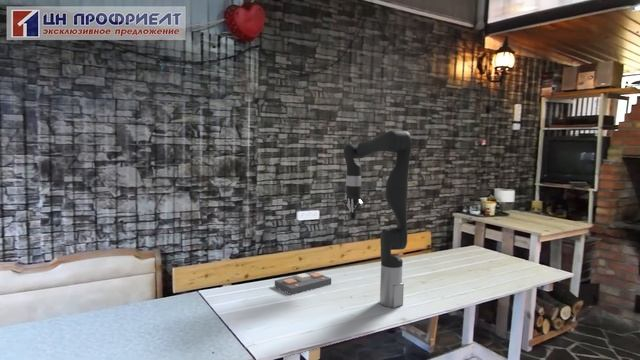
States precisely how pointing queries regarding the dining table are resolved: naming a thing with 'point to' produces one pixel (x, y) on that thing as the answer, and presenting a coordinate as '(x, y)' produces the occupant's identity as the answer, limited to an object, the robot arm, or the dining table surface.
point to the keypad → (303, 284)
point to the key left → (289, 281)
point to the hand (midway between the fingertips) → (352, 219)
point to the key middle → (303, 277)
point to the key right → (316, 275)
